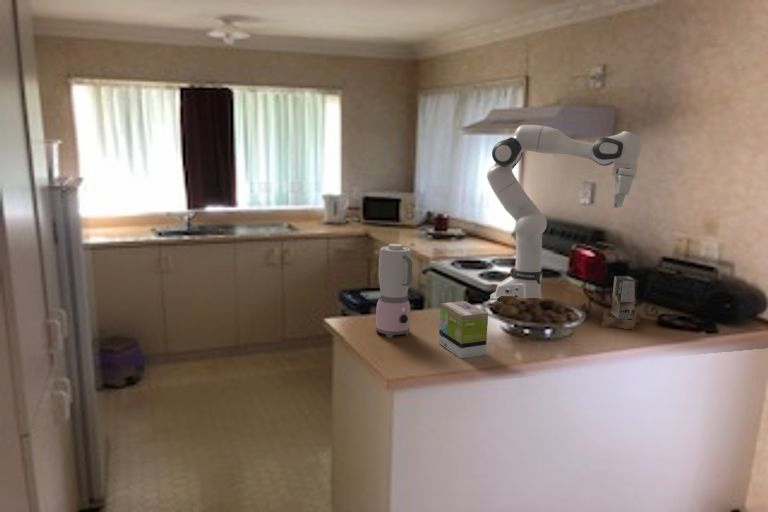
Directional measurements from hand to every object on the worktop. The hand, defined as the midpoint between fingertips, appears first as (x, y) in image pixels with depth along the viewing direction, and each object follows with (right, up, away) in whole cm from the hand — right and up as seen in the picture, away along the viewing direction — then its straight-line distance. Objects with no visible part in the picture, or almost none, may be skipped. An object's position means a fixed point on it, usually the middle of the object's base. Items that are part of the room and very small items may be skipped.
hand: (617, 206), depth 239 cm
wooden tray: (-2, -46, -7) cm, 47 cm away
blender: (-90, -48, -27) cm, 105 cm away
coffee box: (+3, -45, +4) cm, 45 cm away
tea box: (-68, -51, -41) cm, 95 cm away
